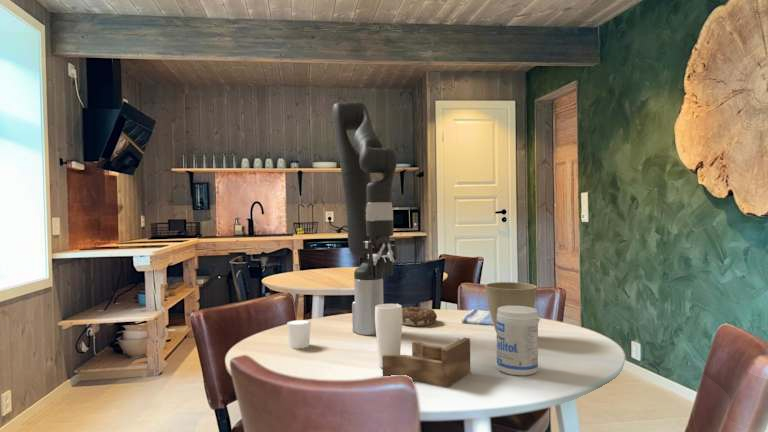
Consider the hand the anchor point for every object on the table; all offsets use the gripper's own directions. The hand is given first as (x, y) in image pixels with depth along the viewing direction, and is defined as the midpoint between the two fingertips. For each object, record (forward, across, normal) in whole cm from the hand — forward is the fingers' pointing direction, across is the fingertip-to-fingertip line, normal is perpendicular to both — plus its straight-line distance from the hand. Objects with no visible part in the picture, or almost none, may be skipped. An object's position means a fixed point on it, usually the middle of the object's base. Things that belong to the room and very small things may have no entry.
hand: (381, 277), depth 137 cm
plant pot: (+20, -29, +27) cm, 45 cm away
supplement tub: (+21, -1, +37) cm, 43 cm away
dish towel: (+20, -51, +16) cm, 58 cm away
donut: (+20, -35, -8) cm, 41 cm away
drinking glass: (+21, +11, +9) cm, 25 cm away
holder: (+21, +12, +20) cm, 31 cm away
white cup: (+20, +7, -24) cm, 32 cm away
